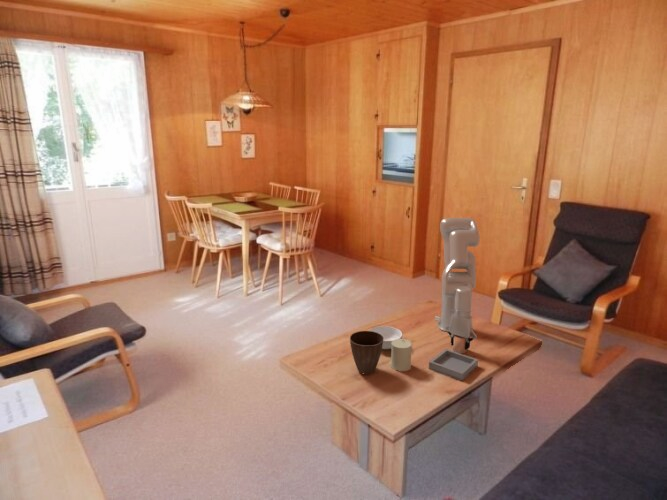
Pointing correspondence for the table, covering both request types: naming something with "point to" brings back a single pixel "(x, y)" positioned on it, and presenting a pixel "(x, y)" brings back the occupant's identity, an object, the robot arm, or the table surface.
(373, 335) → the plant pot
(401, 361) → the pillar candle
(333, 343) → the table surface
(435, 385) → the table surface
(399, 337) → the cereal bowl
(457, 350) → the terracotta cup
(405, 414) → the table surface
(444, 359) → the grey tray
